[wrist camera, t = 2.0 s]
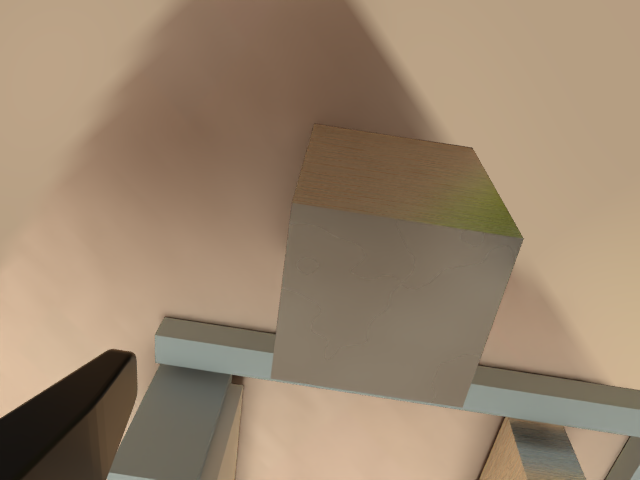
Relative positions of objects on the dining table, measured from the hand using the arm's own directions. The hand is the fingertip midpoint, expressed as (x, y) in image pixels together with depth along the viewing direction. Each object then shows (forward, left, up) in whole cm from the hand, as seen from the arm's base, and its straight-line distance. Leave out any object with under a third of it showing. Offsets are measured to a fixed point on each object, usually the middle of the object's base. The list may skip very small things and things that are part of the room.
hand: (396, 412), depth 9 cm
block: (0, 0, -8) cm, 8 cm away
